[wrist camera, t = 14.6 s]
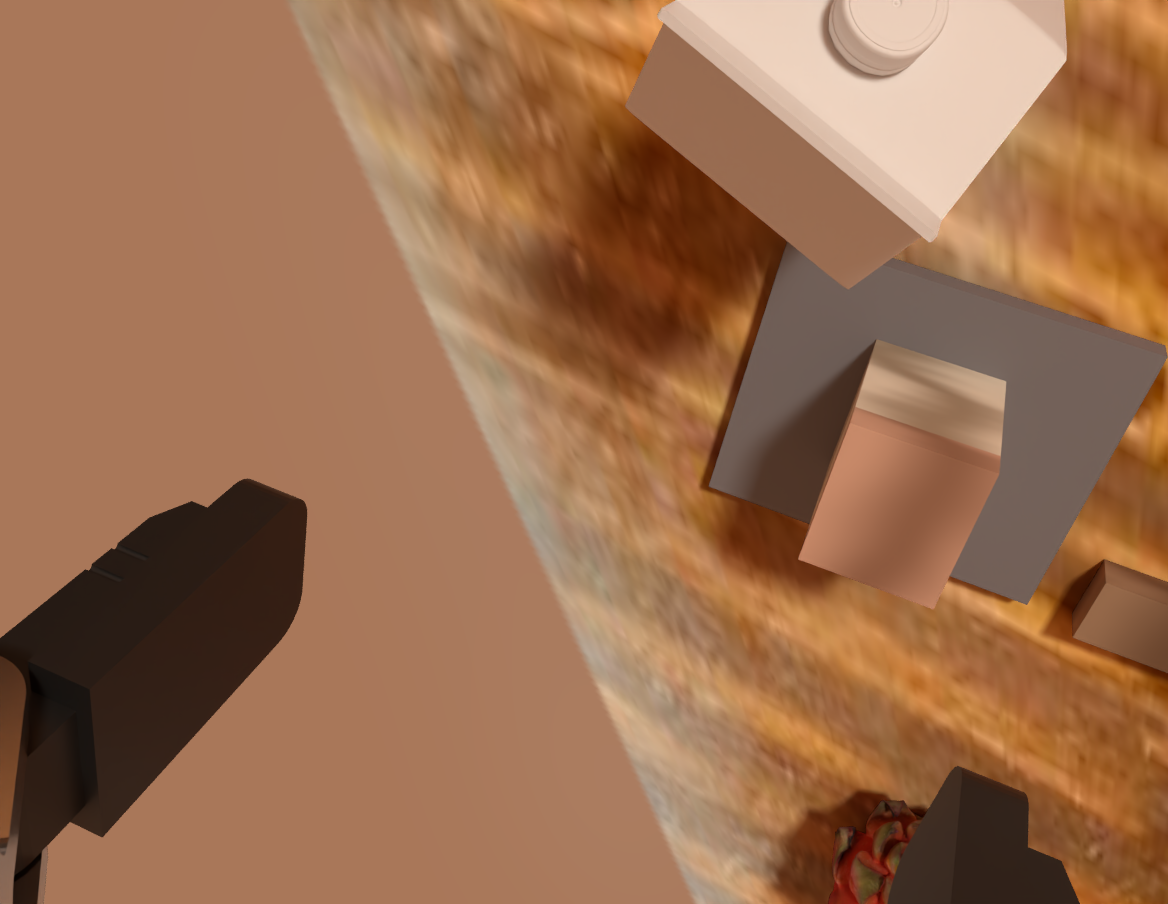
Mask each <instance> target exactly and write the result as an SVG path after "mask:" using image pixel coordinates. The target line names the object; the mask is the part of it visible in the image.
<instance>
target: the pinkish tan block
mask: <svg viewBox="0 0 1168 904" xmlns="http://www.w3.org/2000/svg"><path fill="white" fill-rule="evenodd" d="M1005 393H1006V381H1004V380H1000V379H997V378H994V377H991V376H988V375H985V374H982V373H979V372H976V371H973V370H970V369H967V368H964V367H961V366H957V365H954V364H951V363H948V362H945V361H942V360H939V359H936V358H933V357H930V356H927V355H924V354H921V353H918V352H915V351H911V350H908V349H905V348H902V347H899V346H896V345H893V344H890V343H887V342H884V341H881V340H878V339H877V340H876V343H875V345H874V348H873V351H872V353H871V356H870V358H869V361H868V364H867V366H866V369H865V372H864V374H863V377H862V380H861V382H860V385H859V387H858V390H857V393H856V395H855V398H854V401H853V403H852V406H851V409H850V411H849V414H848V417H847V419H846V422H845V424H844V427H843V430H842V432H841V435H840V438H839V440H838V443H837V446H836V448H835V451H834V453H833V456H832V459H831V461H830V464H829V467H828V470H827V473H826V476H825V479H824V482H823V485H822V488H821V491H820V494H819V497H818V500H817V503H816V506H815V509H814V512H813V515H812V519H811V522H810V525H809V528H808V531H807V534H806V537H805V540H804V543H803V546H802V549H801V552H800V555H799V558H798V560H801V561H804V562H807V563H809V564H812V565H815V566H817V567H820V568H823V569H826V570H828V571H831V572H834V573H836V574H839V575H842V576H844V577H847V578H850V579H853V580H855V581H858V582H861V583H863V584H866V585H869V586H872V587H874V588H877V589H880V590H882V591H885V592H888V593H891V594H893V595H896V596H899V597H901V598H904V599H907V600H909V601H912V602H915V603H918V604H920V605H923V606H926V607H928V608H931V609H934V607H935V605H936V603H937V601H938V599H939V597H940V595H941V593H942V591H943V589H944V587H945V584H946V582H947V580H948V578H949V576H950V574H951V572H952V570H953V568H954V566H955V564H956V562H957V560H958V558H959V556H960V554H961V552H962V550H963V548H964V546H965V543H966V541H967V539H968V537H969V535H970V533H971V531H972V529H973V527H974V525H975V523H976V521H977V519H978V517H979V515H980V513H981V511H982V509H983V507H984V505H985V502H986V500H987V498H988V496H989V494H990V492H991V490H992V488H993V486H994V484H995V482H996V480H997V478H998V476H999V472H1000V459H1001V446H1002V433H1003V419H1004V406H1005Z"/></svg>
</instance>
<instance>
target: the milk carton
mask: <svg viewBox="0 0 1168 904" xmlns="http://www.w3.org/2000/svg"><path fill="white" fill-rule="evenodd" d="M658 19H660V20H661V21H662V22H663V26H662V28H661V30H660V32H659V34H658V36H657V38H656V41H655V43H654V45H653V47H652V49H651V51H650V53H649V56H648V58H647V60H646V62H645V64H644V66H643V68H642V71H641V73H640V75H639V77H638V79H637V81H636V84H635V86H634V88H633V90H632V92H631V94H630V96H629V99H628V101H627V103H626V105H625V107H626V108H627V109H628V110H629V111H630V112H631V113H632V114H633V115H634V116H636V117H637V118H638V119H639V120H640V121H642V122H643V123H644V124H645V125H646V126H647V127H649V128H650V129H651V130H652V131H654V132H655V133H656V134H657V135H658V136H660V137H661V138H662V139H663V140H664V141H666V142H667V143H668V144H669V145H671V146H672V147H673V148H674V149H675V150H677V151H678V152H679V153H680V154H682V155H683V156H684V157H685V158H686V159H688V160H689V161H690V162H691V163H692V164H694V165H695V166H696V167H697V168H699V169H700V170H701V171H702V172H703V173H705V174H706V175H707V176H708V177H710V178H711V179H712V180H713V181H714V182H716V183H717V184H718V185H719V186H721V187H722V188H723V189H724V190H725V191H727V192H728V193H729V194H730V195H731V196H733V197H734V198H735V199H736V200H738V201H739V202H740V203H741V204H742V205H744V206H745V207H746V208H747V209H749V210H750V211H751V212H752V213H753V214H755V215H756V216H757V217H758V218H760V219H761V220H762V221H763V222H764V223H766V224H767V225H768V226H769V227H770V228H772V229H773V230H774V231H775V232H777V233H778V234H779V235H780V236H781V237H783V238H784V239H785V240H786V241H788V242H789V243H790V244H791V245H792V246H794V247H795V248H796V249H797V250H799V251H800V252H801V253H802V254H803V255H805V256H806V257H807V258H808V259H809V260H811V261H812V262H813V263H814V264H816V265H817V266H818V267H819V268H820V269H822V270H823V271H824V272H825V273H827V274H828V275H829V276H830V277H832V278H833V279H834V280H835V281H837V282H838V283H839V284H841V285H842V286H843V287H845V288H846V289H850V288H851V287H853V286H854V285H856V284H857V283H858V282H860V281H861V280H862V279H864V278H865V277H867V276H868V275H869V274H871V273H872V272H873V271H875V270H876V269H878V268H879V267H880V266H882V265H883V264H885V263H886V262H887V261H889V260H890V259H891V258H893V257H894V256H896V255H897V254H898V253H900V252H901V251H902V250H904V249H905V248H907V247H908V246H909V245H911V244H912V243H914V242H915V241H916V240H918V239H919V238H920V237H923V238H925V239H926V240H927V241H928V242H932V241H933V240H934V239H935V238H936V237H937V236H938V232H939V228H940V224H941V221H942V220H943V218H944V217H945V216H946V214H947V213H948V212H949V211H950V209H951V208H952V207H953V205H954V204H955V203H956V202H957V200H958V199H959V198H960V196H961V195H962V194H963V193H964V191H965V190H966V189H967V187H968V186H969V185H970V184H971V182H972V181H973V180H974V178H975V177H976V176H977V175H978V173H979V172H980V171H981V170H982V168H983V167H984V166H985V164H986V163H987V162H988V161H989V159H990V158H991V157H992V155H993V154H994V153H995V152H996V150H997V149H998V148H999V146H1000V145H1001V144H1002V143H1003V141H1004V140H1005V139H1006V137H1007V136H1008V135H1009V134H1010V132H1011V131H1012V130H1013V128H1014V127H1015V126H1016V125H1017V123H1018V122H1019V121H1020V119H1021V118H1022V117H1023V116H1024V114H1025V113H1026V112H1027V110H1028V109H1029V108H1030V107H1031V105H1032V104H1033V103H1034V101H1035V100H1036V99H1037V98H1038V96H1039V95H1040V94H1041V92H1042V91H1043V90H1044V89H1045V87H1046V86H1047V85H1048V84H1049V82H1050V81H1051V80H1052V78H1053V77H1054V76H1055V75H1056V73H1057V72H1058V71H1059V69H1060V68H1061V67H1062V65H1063V64H1064V63H1065V61H1066V55H1067V44H1066V27H1065V11H1064V0H675V1H674V2H672V3H670V4H668V5H666V6H665V7H663V8H661V10H660V11H659V13H658Z"/></svg>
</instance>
